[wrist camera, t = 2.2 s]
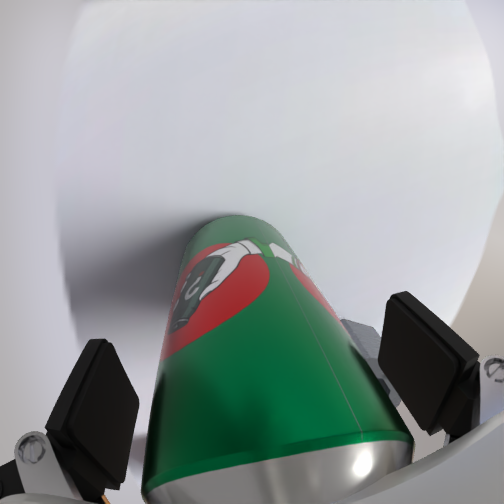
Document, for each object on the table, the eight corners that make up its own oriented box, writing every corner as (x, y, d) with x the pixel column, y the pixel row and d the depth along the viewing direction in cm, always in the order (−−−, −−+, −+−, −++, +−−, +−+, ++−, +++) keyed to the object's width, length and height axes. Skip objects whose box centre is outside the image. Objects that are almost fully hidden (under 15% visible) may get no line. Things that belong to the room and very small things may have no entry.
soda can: (174, 296, 14) (139, 555, 3) (198, 198, 12) (132, 518, 1) (268, 317, 15) (340, 546, 4) (303, 228, 13) (491, 450, 2)
